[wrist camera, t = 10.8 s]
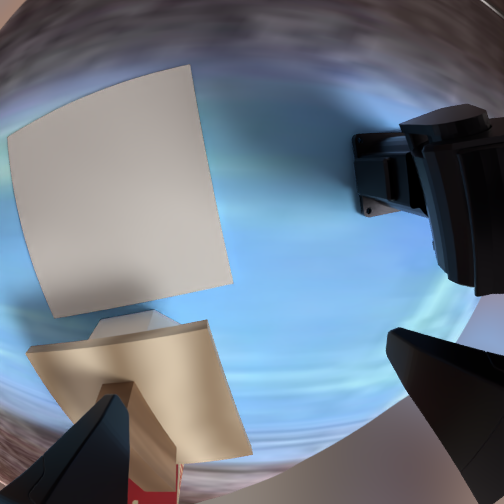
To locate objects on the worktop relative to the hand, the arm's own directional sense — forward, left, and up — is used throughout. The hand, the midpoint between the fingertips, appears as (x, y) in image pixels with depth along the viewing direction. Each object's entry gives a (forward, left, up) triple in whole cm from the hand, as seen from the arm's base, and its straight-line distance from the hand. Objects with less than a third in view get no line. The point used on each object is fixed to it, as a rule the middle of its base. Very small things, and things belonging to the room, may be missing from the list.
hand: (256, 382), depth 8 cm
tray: (+8, -6, -13) cm, 16 cm away
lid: (+9, +9, -8) cm, 15 cm away
